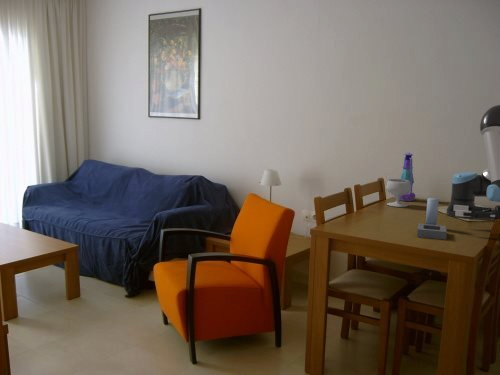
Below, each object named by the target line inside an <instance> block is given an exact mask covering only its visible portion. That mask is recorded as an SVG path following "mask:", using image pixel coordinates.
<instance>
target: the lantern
mask: <svg viewBox="0 0 500 375" xmlns="http://www.w3.org/2000/svg"><path fill="white" fill-rule="evenodd" d="M404 155H405V157H404V159H403V166H402V172H401V175H400V179H403V180H408V181H409V182H410V185H411V190H410V192H409V193H407V194H405V195H403V196H401V197H400V199H399V201H403V202H413V201H415V199H416V194H415V193H414V192H413V185H414V182H415V181H414V174H413V168H414V167H413V157H412V156H414V154H413V153H411V152H406V153H404Z"/></svg>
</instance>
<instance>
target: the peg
mask: <svg viewBox="0 0 500 375" xmlns="http://www.w3.org/2000/svg"><path fill="white" fill-rule="evenodd" d="M438 210H439V198H435V197H434V198H433V197H428V198H426V214H425V215H426V216H425V224H431V225H438V224H437V223H438V222H437V221H438V215H439V214H438V213H439V212H438Z"/></svg>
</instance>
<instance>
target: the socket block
mask: <svg viewBox="0 0 500 375" xmlns="http://www.w3.org/2000/svg"><path fill="white" fill-rule="evenodd" d="M447 231H448V230H447V227H446V225H439V224H437V225H431V224H426V223H420V222H418V223H417V231H416V233H417V235H416V238H424V239H434V240H443V241H444V240H445V241H446V240H447V233H448V232H447Z"/></svg>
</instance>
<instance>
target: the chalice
mask: <svg viewBox="0 0 500 375" xmlns="http://www.w3.org/2000/svg"><path fill="white" fill-rule="evenodd" d="M385 187H386V191H387V192H388V193H390V194H391V195H392V196H394V197H395V201H394V202H387V203H386V205H387V206H390V207H395V208H405V207H408V206H409V205H408V204H406V203H403V202H400V201H401V200H399V199H400V197H401V196H403V195H405V194H407V193H409V192H410V190H411V185H410V182H409V181H408V180H403V179H401V178H390V179H388V181H387V183H386V185H385Z"/></svg>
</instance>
